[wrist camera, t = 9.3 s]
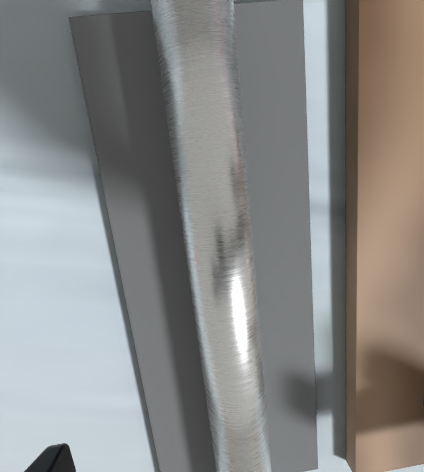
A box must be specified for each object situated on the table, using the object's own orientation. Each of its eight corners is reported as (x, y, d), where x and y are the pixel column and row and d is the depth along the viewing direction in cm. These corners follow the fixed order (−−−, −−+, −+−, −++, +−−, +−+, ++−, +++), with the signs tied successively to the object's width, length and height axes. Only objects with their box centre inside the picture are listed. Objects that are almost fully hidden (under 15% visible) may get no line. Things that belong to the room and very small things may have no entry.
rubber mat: (298, 4, 12) (302, -2, 12) (314, 460, 18) (317, 468, 18) (73, 22, 12) (68, 17, 11) (165, 489, 18) (165, 498, 17)
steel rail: (144, -52, 11) (131, -121, 8) (220, -57, 11) (232, -126, 8) (222, 513, 18) (230, 575, 15) (268, 504, 18) (284, 564, 15)
